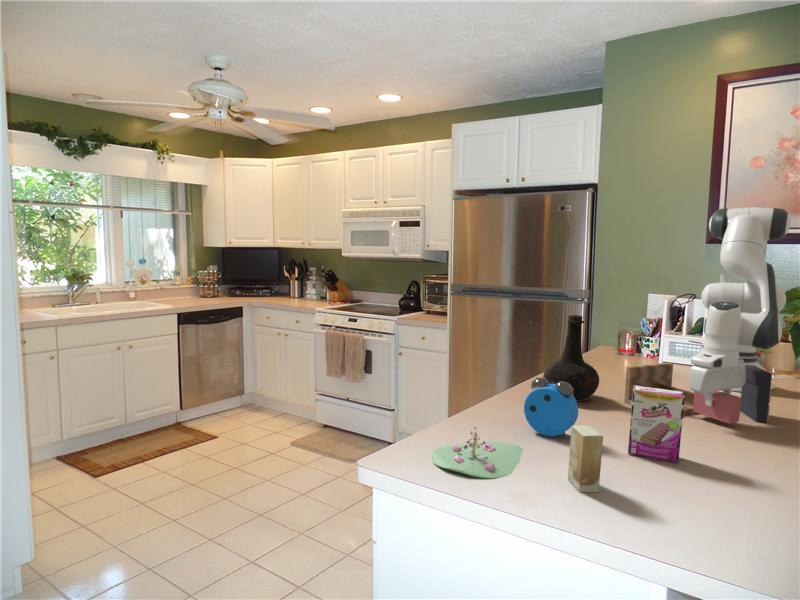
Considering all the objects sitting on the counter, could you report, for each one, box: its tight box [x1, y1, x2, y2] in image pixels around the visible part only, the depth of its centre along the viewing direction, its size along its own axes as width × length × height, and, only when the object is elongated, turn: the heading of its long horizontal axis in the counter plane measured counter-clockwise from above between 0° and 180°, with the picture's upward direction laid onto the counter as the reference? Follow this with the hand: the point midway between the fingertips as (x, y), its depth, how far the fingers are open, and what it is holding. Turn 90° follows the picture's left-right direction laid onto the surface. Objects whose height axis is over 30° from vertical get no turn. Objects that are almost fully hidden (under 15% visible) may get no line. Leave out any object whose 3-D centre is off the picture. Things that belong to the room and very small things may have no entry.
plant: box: [431, 426, 524, 479], centre depth 121 cm, size 25×21×9 cm
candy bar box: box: [627, 386, 684, 463], centre depth 124 cm, size 11×5×16 cm, turn 65°
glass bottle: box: [542, 314, 600, 402], centre depth 171 cm, size 18×18×28 cm
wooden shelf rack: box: [623, 362, 697, 416], centre depth 164 cm, size 20×16×12 cm
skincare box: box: [567, 424, 604, 493], centre depth 107 cm, size 6×4×12 cm
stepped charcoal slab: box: [740, 365, 773, 423], centre depth 156 cm, size 11×4×15 cm, turn 168°
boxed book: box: [693, 390, 741, 424], centre depth 150 cm, size 4×11×7 cm, turn 24°
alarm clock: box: [523, 376, 579, 438], centre depth 137 cm, size 13×6×15 cm, turn 52°
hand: (716, 404), depth 150 cm, fingers closed on boxed book, 4 cm apart
